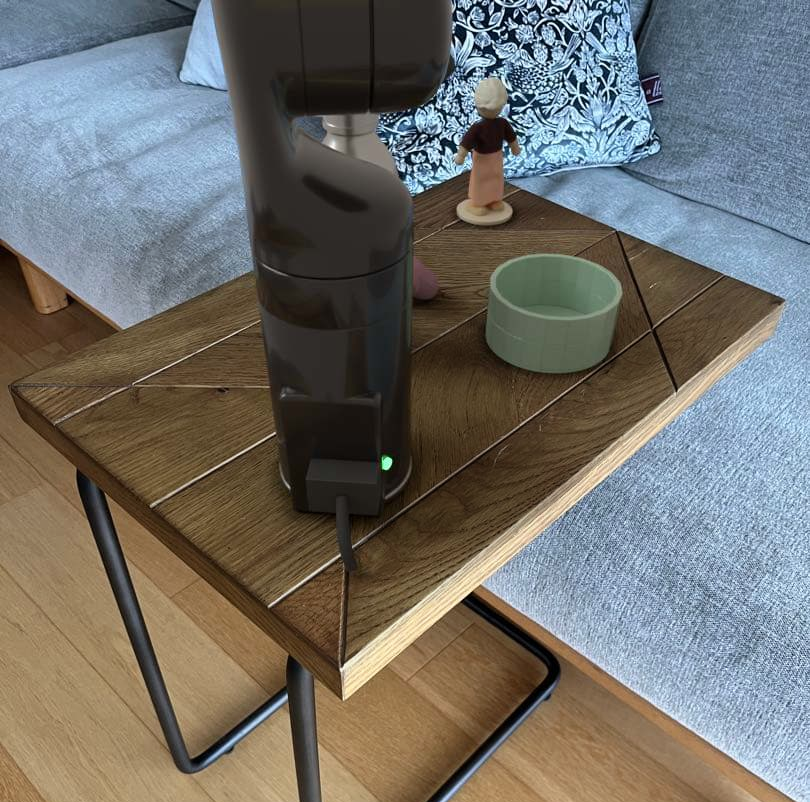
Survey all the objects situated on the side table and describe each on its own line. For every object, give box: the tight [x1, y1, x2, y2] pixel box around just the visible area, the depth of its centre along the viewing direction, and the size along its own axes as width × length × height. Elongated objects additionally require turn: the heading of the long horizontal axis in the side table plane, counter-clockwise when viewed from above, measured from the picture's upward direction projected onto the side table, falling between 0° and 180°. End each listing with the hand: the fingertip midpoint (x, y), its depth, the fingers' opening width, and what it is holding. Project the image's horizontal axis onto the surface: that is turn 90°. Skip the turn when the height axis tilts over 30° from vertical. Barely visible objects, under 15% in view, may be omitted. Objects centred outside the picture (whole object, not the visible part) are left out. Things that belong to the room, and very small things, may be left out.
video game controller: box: [413, 256, 439, 301], centre depth 73 cm, size 10×5×7 cm, turn 62°
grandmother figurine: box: [454, 77, 522, 216], centre depth 83 cm, size 8×4×13 cm, turn 130°
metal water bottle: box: [321, 113, 400, 178], centre depth 62 cm, size 6×7×20 cm
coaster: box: [456, 198, 514, 226], centre depth 87 cm, size 6×6×1 cm
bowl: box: [485, 253, 624, 374], centre depth 69 cm, size 11×11×5 cm
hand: (422, 85), depth 84 cm, fingers open, 8 cm apart
